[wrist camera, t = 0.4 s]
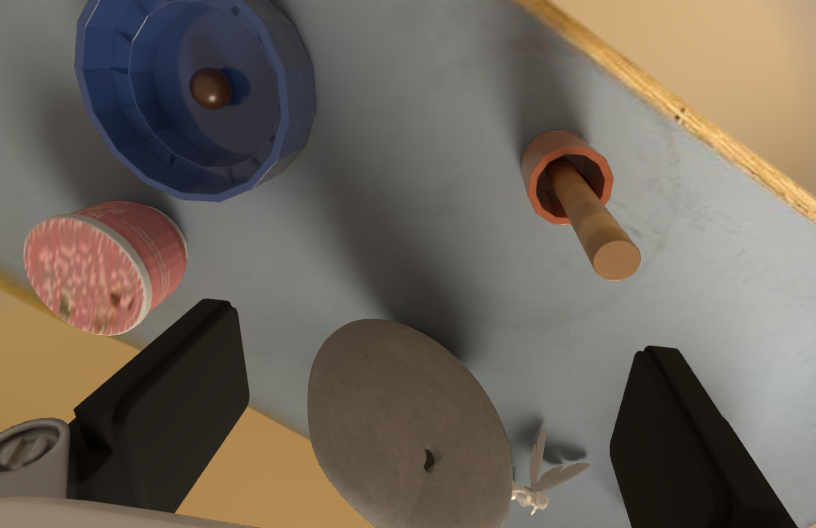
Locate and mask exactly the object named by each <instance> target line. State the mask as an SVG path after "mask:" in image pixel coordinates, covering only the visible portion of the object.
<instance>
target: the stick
mask: <svg viewBox="0 0 816 528" xmlns="http://www.w3.org/2000/svg"><path fill="white" fill-rule="evenodd" d="M544 171H545V173H546V175H547V177H548V179H549V181H550V183H551V185H552V187H553V189H554V191H555V193H556V195H557V197H558V199H559V201H560V202H561V204H562V206H563V208H564V210H565V212H566V214H567V216H568V218H569V220H570V222H571V224H572V226H573V228H574V230H575V232H576V234H577V236H578V238H579V240H580V242H581V244H582V246H583V248H584V250H585V252H586V254H587V256H588V258H589V260H590V262H591V264H592V266H593V268H594V270H595V272H596V273H597V274H598V275H599V276H600V277H602V278H603V279H606V280H610V281H619V280H623V279H626V278H628V277H630V276H631V275H632V274H633V273H634V272H635V271H636V270H637V269H638V267H639V265H640V261H641V255H640V252H639V250H638V248H637V247H636V245H635V244H634V243H633V242H632V240H631V239H630V238H629V236H628V235H627V234H626V233H625V231H624V230H623V229H622V228H621V226H620V225H619V224H618V222H617V221H616V220H615V219H614V217H613V216H612V215H611V214H610V212H609V211H608V210H607V208H606V207H605V206H604V205H603V203H602V202H601V201H600V200H599V198H598V197H597V196H596V194H595V193H594V192H593V191H592V189H591V188H590V187H589V185H588V184H587V183H586V182H585V180H584V179H583V178H582V177H581V175H580V174H579V173H578V171H577V170H576V169H575V168H574V166H573V165H572V164H571V163H570V161H569V160H568V159H567V157H566V156H565V155H563V156H561V157H559V158H557V159H555V160H553V161H551V162H549V163H548V164H547V165H546V167H545V168H544Z"/></svg>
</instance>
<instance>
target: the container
mask: <svg viewBox="0 0 816 528" xmlns="http://www.w3.org/2000/svg"><path fill="white" fill-rule="evenodd" d="M187 257H188V249H187V244H186V240H185V238H184V236H183V233H182V232H181V230H180V229H179V227H178V226H177V225H176V223H175V222H174V221H173V220H172V219H171V218H170V217H169V216H167V215H166V214H165V213H163V212H161V211H160V210H158V209H156V208H153V207H151V206H146V205H144V204H140V203H135V202H128V201H110V202H105V203H102V204H99V205H95V206H92V207H89V208H86V209H83V210H80V211H76V212H73V213H70V214H62V215H56V216H53V217H50V218H48V219H45V220H43V221H41V222H39V223H38V224H37V225H36V226H34V227H33V228H32V229H31V231H30V232H29V234H28V236H27V237H26V240H25V244H24V248H23V260H24V265H25V270H26V272H27V275H28V278H29V280H30V282H31V284H32V286H33V288H34V289H35V291H36V293H37V294H38V295H39V297H40V298H41V299H42V301H43V302H44V303H45V304H46V305H47V306H48V307H49V308H50V309H51V310H52V311H53V312H54V313H55V314H56V315H58V316H59V317H60V318H62V319H63V320H64V321H66V322H68V323H69V324H71V325H73V326H74V327H76V328H79V329H81V330H84V331H86V332H90V333H94V334H97V335H118V334H121V333H124V332H127V331H129V330H131V329H132V328H134V327H135V326H136V325H138V324H139V323H140V322H141V321H142V320H143V319H144V318H145V317H146V315H147V314H148V313H149V312H150V311H151V310H152V309H153V308H155V307H156V306H157V305H158V304H159V303H160V302H162V301H163V300H164V299H165V298H166V297H167V296H169V295H170V294H171V293H172V292H173V291H174V290H175V289H176V288H177V287H178V285H179V283H180V281H181V279H182V277H183V274H184V272H185V268H186V263H187Z"/></svg>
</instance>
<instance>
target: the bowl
mask: <svg viewBox="0 0 816 528" xmlns="http://www.w3.org/2000/svg"><path fill="white" fill-rule="evenodd" d="M74 67H75V72H76V75H77V79H78V83H79V87H80V90H81V94H82V98H83V101H84V105H85V109H86V112H87V114H88V116H89V118H90V119H91V121H92V123H93V124H94V126H95V127H96V129H97V131H98V132H99V134H100V136H101V137H102V139H103V140H104V142H105V144H106V145H107V147H108V149H109V150H110V152H111V153H112V154H113V155H114V156H115V157H116V158H117V159H118V160H120V161H121V162H122V163H123V164H124V165H125V166H126V167H127V168H128V169H129V170H131V171H132V172H133V173H134V174H135V175H136V176H137V177H138V178H139V179H141V180H142V181H143V182H144V183H145V184H148V185H150V186H152V187H154V188H156V189H159V190H161V191H163V192H165V193H167V194H170V195H172V196H174V197H176V198H179V199H181V200H192V201H210V202H221V201H224V200H226V199H229V198H231V197H234V196H236V195H239V194H241V193H243V192H246V191H248V190H251V189H253V188H255V187H257V186H258V185H260V184H262V183H264V182H265V181H267V180H269V179H271V178H273V177H274V176H276V175H278V174H280V173H281V172H283V171H284V170H285V169H286V167H287V166H288V165H289V164H290V163H291V162H292V161H293V160H294V158H295V157H296V156H297V155H298V154H299V153H300V152H301V151H302V149H303V148H304V147H305V144H306V141H307V138H308V135H309V132H310V128H311V125H312V122H313V119H314V115H315V112H316V111H315V110H316V100H315V86H314V72H313V66H312V64H311V62H310V59H309V57H308V55H307V52H306V50H305V48H304V46H303V43H302V41H301V39H300V36H299V34H298V32H297V29H296V27H295V26H294V24H293V23H292V22H291V21H290V20H289V19H288V18H287V17H286V16H285V15H284V14H283V12H282V11H281V10H280V9H279V8H278V7H277V6H276V5H275V4H274V3H273V2H272V1H271V0H88V2H87V4H86V6H85V8H84V10H83V11H82V13H81V15H80V17H79V19H78V22H77V35H76V50H75V64H74ZM205 67H211V68H215V69H218V70H220V71H221V72H223V73H224V74H225V75H226V76H227V77H228V79H229V80H230V82H231V85H232V89H233V94H232V98H231V100H230V102H229V103H228V104H227V105H226V106H225V107H223V108H221V109H218V110H210V109H206V108H204V107H202V106H200V105H199V104H198V103H197V102H196V101H195V100H194V99H193V97H192V95H191V93H190V89H189V82H190V79H191V77H192V75H193V74H194V73H195V72H196V71H197V70H199V69H201V68H205Z"/></svg>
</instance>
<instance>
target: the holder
mask: <svg viewBox="0 0 816 528" xmlns="http://www.w3.org/2000/svg"><path fill="white" fill-rule="evenodd" d="M563 155H565V156H566V157H567V159H568V160H569V161H570V163H571V164H572V165H573V166H574V168H575V169H576V170H577V171H578V173H579V174H580V175H581V177H582V178H583V179H584V180H585V182H586V183H587V184H588V185H589V187H590V188H591V189H592V191H593V192H594V193H595V194H596V196H597V197H598V198H599V200H600V201H601V202H602V203H603V205H605V204H606V203H607V202H608V201H609V199H610V195H611V190H612V185H613V180H614V178H613V175H612V172H611V170H610V167H609V165H608V163H607V160H606V159H605V158H604V157H603V156H602V155H601V154H600V153H599V152H598V151H596V150H595V149H594V148H593V147H592V146H591V145H589V144H588V143H587V142H586V141H585V140H583V139H582V138H580V137H579V136H577V135H576V134H574V133H573V132H571V131H566V130H551V131H548V132H545V133H543V134H541V135H539V136H537V137H536V138H535V139H534V140H533V141H532V142H531V143H530V144H529V145H528V146H527V148H526V150H525V152H524V154H523V157H522V162H521V174H522V178H523V181H524V184H525V188H526V191H527V195H528V197H529V199H530V202H531V204H532V206H533V208H534V210H535V212H536V213H537V214H538V215H540V216H541V217H543V218H544V219H546V220H547V221H549V222H551V223H552V224H560V225H572V224H571V222H570V220H569V218H568V216H567V214H566V212H565V210H564V208H563V206H562V204H561V202H560V201H559V199H558V197H557V195H556V193H555V191H554V189H553V187H552V185H551V183H550V181H549V179H548V177H547V175H546V173H545V171H544V168H545V167H546V165H547V164H548V163H549V162H551V161H553V160H555V159H557V158H559V157H561V156H563Z"/></svg>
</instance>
